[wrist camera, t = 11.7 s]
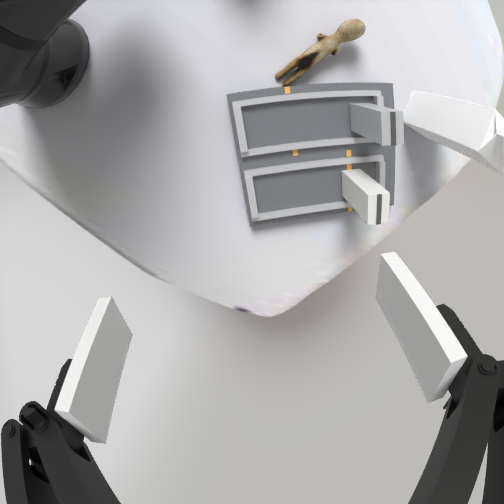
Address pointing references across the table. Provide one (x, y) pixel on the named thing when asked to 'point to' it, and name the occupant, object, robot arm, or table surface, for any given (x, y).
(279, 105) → the grey flat tray
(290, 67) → the figurine
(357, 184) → the block
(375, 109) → the fader
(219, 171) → the table surface
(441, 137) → the milk
